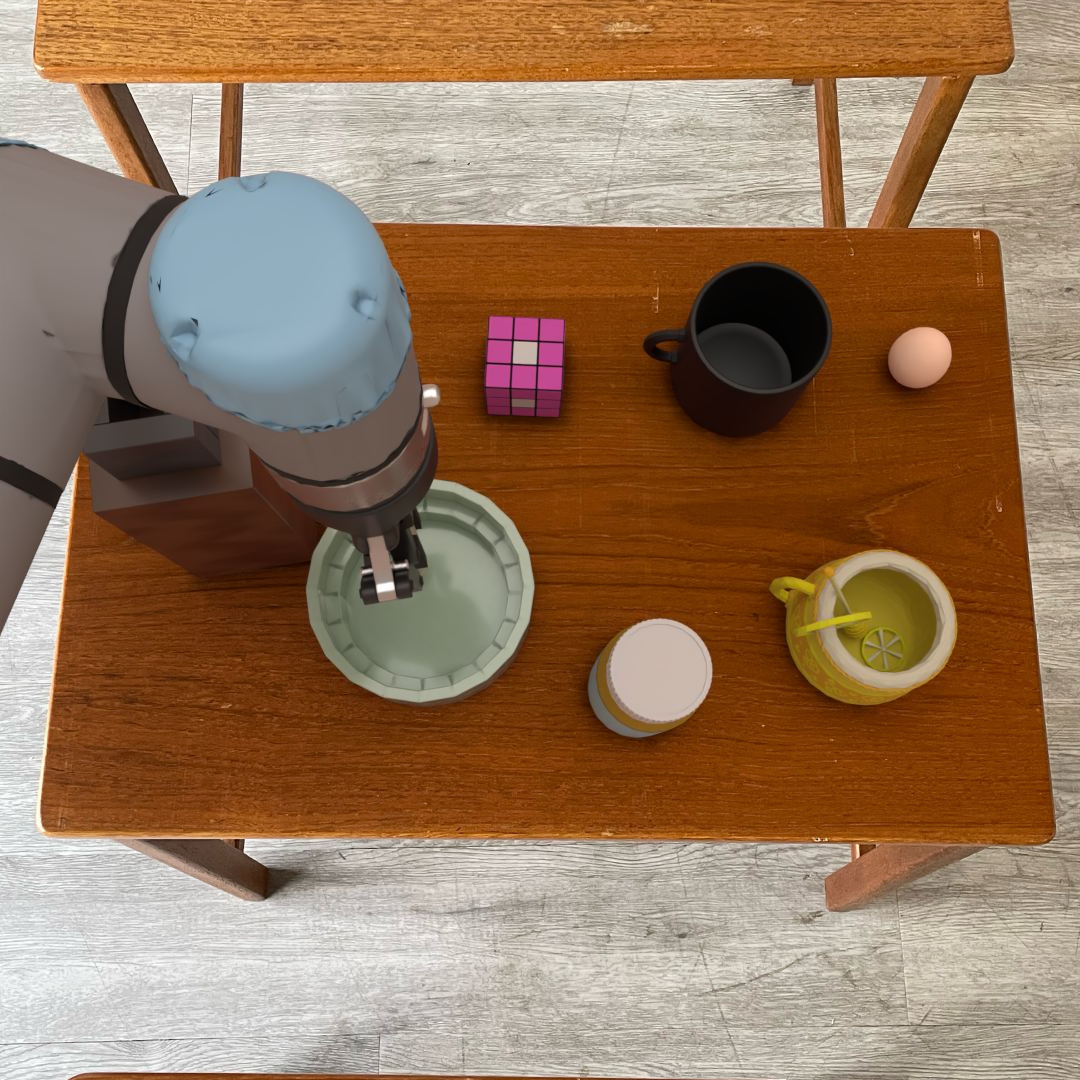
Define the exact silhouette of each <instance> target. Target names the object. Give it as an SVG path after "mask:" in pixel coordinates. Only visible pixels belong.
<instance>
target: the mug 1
mask: <svg viewBox="0 0 1080 1080" xmlns="http://www.w3.org/2000/svg"><path fill="white" fill-rule="evenodd" d="M691 305H692V306H691V309H690V311H689V314H688V317H687V319H686V322H685V325H684V327H681V328H680V327H679V328H675V329H673V328H671V329H670V328H669V329H662V330H661V329H660V330H658V331H654V332H652V333H649V334H648V335H647V336H646V337H645V338H644V340H643V345H642V350H643V352H644V353H645V354H647V355H648V357H650V358H651V359H654V360H656V361H657V362H661V363H668V364H669V365H670V366H671V370H670V372H671V373H670V374H671V383H672V384H671V385H672V388H673V389H672V390H673V392H674V394H675V398H676V399H677V401H678V403H679V404H680V407H681V408H682V409H683V411H684V412H685V413H686V414H687V416H689V417H690V418H691V419H692V420H693V421H694V422H695V423H697V424H698V425H699V426H701V427H703V428H704V429H707V430H708V431H711V432H712V433H716V434H719V435H723V436H729V437H750V436H754V435H759V434H761V433H764V432H766V431H767V430H770V429H772V428H773V427H774V426H776V425H778V424H779V423H780V422H781V421H783V420H784V418H785V417H786V416H787V415H788V413H789V412H790V411H791V409H792V408H793V407H794V406H795V404H796V403H797V401H798V400H799V399H800V397H801V396H802V394H803V393H804V392H805V390H806V389H807V388H808V386H809V385H810V384H811V382H812V381H813V380H814V378H815V377H816V375H817V374H818V373H819V372H820V370H821V369H822V367H823V366H824V364H825V363H826V360H827V358H828V356H829V354H830V351H831V348H832V343H833V334H834V333H833V321H832V317H831V312H830V310H829V307H828V305H827V303H826V301H825V299H824V297H823V295H822V294H821V292H820V291H819V290H818V289H817V288H816V286H815V285H814V284H813V283H812V282H811V281H810V280H808V278H806V277H805V276H803V275H802V274H800V273H799V272H798V271H795V270H794V269H792V268H790V267H787V266H785V265H781V264H779V263H774V262H769V261H746V262H741V263H737V264H734V265H731V266H729V267H726V268H725V269H721V271H719V272H717V273H716V274H714V275H713V276H711V278H710V279H709V280H707V281H706V282H705V283H704V285H703V286H702V287H701V288H700V290H699V291H698V293H697V295H696V297H695V299H694V300H693V303H692V304H691ZM666 342H677V343H678V344H677V347H676V350H665V349H662V348H659V347H658V346H657V345H658V344H661V343H666Z"/></svg>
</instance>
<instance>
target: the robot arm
mask: <svg viewBox="0 0 1080 1080" xmlns="http://www.w3.org/2000/svg"><path fill="white" fill-rule="evenodd" d="M411 318H412V312H411V309H410V305H409V302H408V295H407V293H406V289H405V286H404V283H403V281H402V279H401V277H400V275H399V273H398V271H397V269H395V268H394V267H393V264H392V261H391V259H390V257H389V255H388V252H387V249H386V247H385V244H384V242H383V240H382V238H381V236H380V234H379V232H378V229H376V227H375V226H374V224H373V222H372V221H371V220H370V218H369V217H368V216H367V214H366V213H365V212H364V211H363V210H362V209H361V208H360V207H359V206H358V205H357V204H356V203H355V202H354V201H352V200H351V198H349V197H348V196H346V195H345V194H343V192H341V191H339V190H338V189H336V188H334V187H333V186H331V185H329V184H328V183H325V182H324V181H321V180H319V179H316V178H314V177H311V176H308V175H305V174H301V173H297V172H293V171H284V170H270V171H269V172H265V173H257V174H251V175H244V176H228V177H225V178H223V179H220V180H216V181H214V182H212V183H210V184H208V185H207V186H206V187H204V188H202V189H200V190H198V191H197V192H195V193H194V194H192V195H191V196H190V197H189V196H187V195H184V194H176V193H173V192H170V191H169V190H168V191H167V190H164V189H161V188H159V187H155V186H153V185H150V184H147V183H144V182H140V181H137V180H135V179H131V178H128V177H124V176H122V175H119V174H116V173H113V172H111V171H108V170H104V169H101V168H99V167H96V166H93V165H90V164H87V163H84V162H81V161H79V160H75V159H73V158H69V157H66V156H65V155H61V154H58V153H55V152H52V151H50V150H49V149H47V148H45V147H41V146H38V145H36V144H33V143H28V142H27V141H25V140H19V139H11V138H8V137H2V136H0V637H1V635H2V633H3V631H4V629H5V626H6V624H7V622H8V619H9V617H10V614H11V612H12V610H13V608H14V605H15V603H16V601H17V598H18V595H19V593H20V592H21V590H22V587H23V584H24V582H25V580H26V577H27V575H28V573H29V571H30V569H31V566H32V564H33V562H34V559H35V557H36V554H37V552H38V550H39V547H40V545H41V543H42V541H43V539H44V536H45V534H46V531H47V530H48V527H49V524H50V522H51V520H52V518H53V515H54V514H55V510H57V507H58V504H59V502H60V500H61V498H62V495H63V494H64V492H65V489H66V488H67V485H68V483H69V481H70V479H71V477H72V475H73V472H74V470H75V468H76V466H77V463H78V461H79V459H80V457H81V454H82V453H83V448H84V445H85V443H86V441H87V439H88V436H89V434H90V432H91V430H92V427H93V425H94V423H95V421H96V418H97V416H98V414H99V412H100V409H101V407H102V405H103V403H104V400H105V399H106V397H112V398H118V399H123V400H126V401H128V402H130V403H132V404H135V405H138V406H142V407H145V408H149V409H159V410H162V411H165V412H168V413H171V414H175V415H178V416H181V417H184V418H187V419H190V420H193V421H197V422H200V423H203V424H206V425H209V426H212V427H215V428H219V429H222V430H225V431H227V432H230V433H233V434H235V435H237V436H239V437H241V438H242V439H243V440H244V441H245V443H246V444H247V445H248V446H249V448H250V449H251V450H252V451H253V452H254V453H255V455H256V456H257V457H258V458H259V459H260V461H261V462H262V463H263V465H264V466H265V467H266V469H267V470H268V471H269V473H270V474H271V475H272V477H273V478H274V479H275V480H276V482H277V483H278V484H279V486H280V487H281V488H282V489H283V490H285V492H286V493H287V494H288V495H289V496H290V498H291V499H292V500H293V501H294V503H295V504H296V505H297V506H298V507H299V508H300V509H301V510H302V511H303V512H304V513H305V514H306V515H308V516H309V517H310V518H312V519H313V520H315V522H317V523H318V524H320V525H322V526H325V527H326V528H327V527H329V528H332V529H335V530H338V531H342V532H345V533H349V534H350V535H351V537H352V540H353V543H354V546H355V548H356V549H357V550H358V551H359V552H360V553H363V556H364V557H363V558H364V566H361V567H360V572H361V576H362V578H361V589H359V594H360V598H361V599H362V600H363V603H364V605H369V604H375V603H379V602H380V603H381V602H387V601H393V600H398V599H405V598H411V597H413V592H418V591H422V587H423V584H424V581H423V576H421V575H420V572H419V570H418V569H421V568H427V567H428V565H427V558H426V555H425V552H424V550H423V547H422V545H421V543H420V540H419V538H418V535H417V534H416V535H412V533H411V530H410V528H411V527H413V526H415V528H416V530H418V529H422V526H421V519H420V516H419V513H418V510H417V508H416V507H417V506H418V504H419V503H420V502H421V501H422V500H423V498H424V497H425V495H426V494H427V492H428V490H429V489H430V487H431V484H432V482H433V480H434V479H435V477H436V473H437V469H438V463H439V445H438V438H437V434H436V430H435V426H434V422H433V418H432V417H433V416H432V414H431V411H430V409H431V408H434V407H436V406H438V405H440V403H441V397H442V394H441V389H440V388H439V386H438V385H437V384H435V383H426V384H423V380H422V377H421V374H420V367H419V363H418V361H417V357H416V353H415V349H414V344H413V338H414V335H413V331H412V329H411V325H410V324H411V320H412V319H411Z"/></svg>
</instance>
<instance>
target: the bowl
mask: <svg viewBox="0 0 1080 1080" xmlns="http://www.w3.org/2000/svg"><path fill="white" fill-rule="evenodd" d="M416 508H417V510H418V513H419V516H420V519H421V526H422V529H418V530H416V531H417V533H418V536H419V538H420V541H421V543H422V545H423V548H424V550H425V553H426V555H427V558H428V560H429V568H428V570H427V572H426V573H425V574H424V575H423V581H424V584H423V587H422V591H418V592H413V597H411V598H405V599H398V600H393V601H387V602H381V603H380V602H379V603H375V604H369V605H364V603H363V600H362V599H361V598H360V594H359V589H361V578H362V576H361V572H360V567H361V566H364V558H363V557H364V556H363V553H360V552H359V551H358V550H357V549H356V548H355V546H354V543H353V540H352V537H351V535H350V534H349V533H345V532H342V531H338V530H335V529H332V528H329V527H327V526H326V529H325V530H324V532H323V534H322V535H321V538H320V540H318V545H317V547H316V548H315V550H314V552H313V555H312V559H311V561H310V565H309V569H308V575H307V580H306V584H305V594H306V603H307V610H308V619H309V624H310V627H311V629H312V631H313V633H314V635H315V638H316V639H317V642H318V644H319V645H320V648H321V649H322V652H323V654H324V656H325V657H326V659H328V660H329V661H330V662H331V663H332V664H333V665H334V666H335V667H336V668H337V669H338V670H339V671H340V672H341V673H342V675H344V676H345V678H346V679H348V680H349V681H350V682H352V684H355V685H357V686H359V687H361V688H363V690H367V691H368V692H370V693H372V694H374V695H376V696H378V697H380V698H382V699H384V700H385V701H388V702H390V703H393V704H399V705H405V706H406V705H407V706H414V707H419V708H431V707H438V706H442V705H449V704H455V703H459V702H462V701H464V700H466V699H467V698H469V697H471V696H473V695H475V694H478V693H479V692H481V691H484V690H485V689H487V688H489V687H490V686H492V685H493V684H494V683H495V682H496V680H497V679H499V677H501V675H502V674H503V673H504V672H505V671H506V670H507V669H508V668H509V667H510V666H512V664H513V663H514V661H515V660H516V658H517V657H518V655H519V652H520V650H521V648H522V646H523V644H524V642H525V641H526V639H527V636H528V634H529V632H530V630H531V629H530V628H531V621H532V615H533V610H534V609H533V608H534V602H535V591H536V590H535V589H536V587H535V586H536V584H535V578H534V572H533V567H532V566H533V565H532V560H531V555H530V552H529V549H528V547H527V546H526V543H525V541H524V540H523V538H522V536H521V534H520V532H519V530H518V529H517V526H516V525H515V523H514V521H513V520H512V519H511V518H510V517H509V516H508V515H507V514H506V513H505V512H503V510H502V509H500V507H499V506H497V504H495V503H494V502H493V501H492V500H491V499H490V498H489V497H487V496H486V495H484V494H482V493H479V492H477V491H476V490H473V489H471V488H469V487H467V486H465V485H463V484H461V483H458V482H456V481H450V480H443V479H437V478H434V480H433V482H432V484H431V487H430V489H429V490H428V492H427V494H426V495H425V497H424V498H423V500H422V501H421V502H420V503H419V504H418V506H417V507H416Z"/></svg>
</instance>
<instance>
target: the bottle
mask: <svg viewBox="0 0 1080 1080" xmlns="http://www.w3.org/2000/svg"><path fill="white" fill-rule="evenodd" d="M713 670H714V669H713V663H712V657H711V655H710V652H709V650H708V647H707V646H706V644H705V642H704V641H703V640H702V638H701V636H699V635H698V634H697V632H695V631H694V629H692V628H690V627H689V626H687V625H685V624H684V623H682V622H679V621H677V620H673V619H667V618H660V617H658V618H652V619H647V620H642V621H641V622H637V623H635V624H632V625H630V626H628V627H626V628H624V629H622V630H621V631H619V632H617V633H616V634H615V635H614V636H613V637H612V638H611V639H610V640H609V641H608V642H607V643H606V645H605V646H604V648H603V649H602V651H601V652H600V654H599V655H598V657H597V658H596V659H595V662H594V664H593V665H592V668H591V669H590V673H589V676H588V682H587V693H588V700H589V704H590V706H591V708H592V710H593V713H594V715H595V716H596V718H597V719H598V720H599V721H600V722H601V724H603V725H604V726H605V727H606V728H607V729H609V730H610V731H612V732H614V733H616V734H618V735H619V736H624V737H628V738H637V739H638V738H645V737H646V738H647V737H652V736H655V735H658V734H661V733H664V732H668V731H671V730H673V729H675V728H677V727H679V726H680V725H682V724H684V723H685V722H687V721H688V720H689V719H690V718H691V717H692V716H693V714H695V713H696V711H697V710H698V708H699V707H700V705H701V704H703V703H704V700H705V699H706V697H707V694H709V690H710V689H711V684H712V681H713V680H712V678H713Z"/></svg>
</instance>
